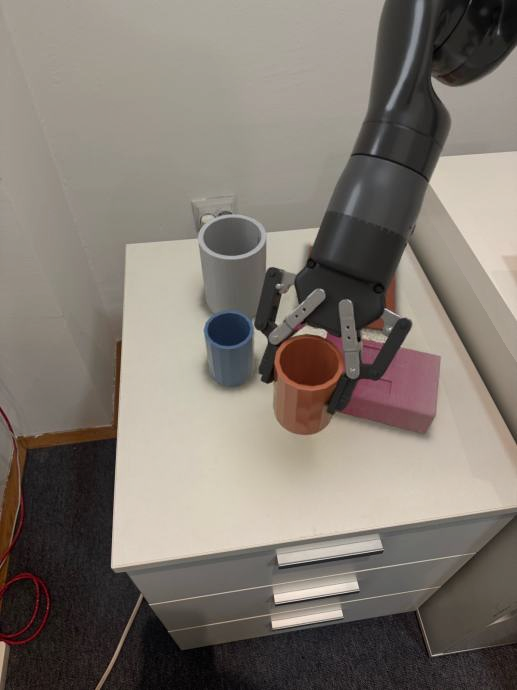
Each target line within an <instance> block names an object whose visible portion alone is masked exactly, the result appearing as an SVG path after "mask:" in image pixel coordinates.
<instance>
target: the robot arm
mask: <svg viewBox="0 0 517 690" xmlns="http://www.w3.org/2000/svg"><path fill="white" fill-rule="evenodd" d="M375 41H376V42H375V50H374V58H373V67H372V75H371V82H370V88H369V95H368V96H369V97H368V104H367V108H366V113H365V115H364V118H363V121H362V124H361V126H360V129H359V131H358V133H357V136H356V139H355V142H354V145H353V147H352V150H351V153H350V155H349V158H348V160H347V163H346V164H345V166H344V168H343V170H342V172H341V174H340V176H339V177H338V180H337V182H336V184H335V187H334V189H333V191H332V194H331V197H330V200H329V201H328V204H327V208H326V210H325V213H324V215H323V218H322V221H321V223H320V226H319V229H318V231H317V234H316V237H315V239H314V241H313V245H312V246H313V247H312V249H311V252H310V255H309V257H308V256H307V260H306V263H305V265H304V266H303V268H302V269H301V270H300V271H298V273H294V272H293V273H292V272H288V271H286V270H284V269H283V268H278V267H275V266H270V267H269V268H267V269H266V275H265V280H264V284H263V288H262V292H261V296H260V301H259V305H258V309H257V313H256V314H255V317H254V321H253V327H254V329H256V330H257V331H258V332H259V331H260V333H261V334H262V335H264V336H265V338H266V339H267V344H266V347H265V349H264V352H263V355H262V357H261V360H260V363H259V364H258V365H259V366H258V374H259V375H261V377H260V382H262V383H263V384H266V385H269V384H272V383H274V361H275V356H276V352H277V350H278V349H279V347H280V346H281V345H282V343H283V342H285V341H286V340H288V339H290V338H291V337H294V336H295V335H296V334H297V333H298V332H299V331H300V330H302V329H303V328H305V326H309V327H311V328H313V329H320V330H321V329H322V330H324V331H325V332H326V333H327V332H328V333H329V334H330V335H333V336H335V337H338V338H340V337H342V346H343V352H344V356H345V369H346V371H345V373H344V374H343V375H342V376H341V377H340V379H339V382H338V384H337V386H336V389H335V391H334V394H333V396H332V398H331V401H330V403H329V406H328V408H327V411H326V412H327V413H329V414H331V415H333V416H335V415H336V414H337V413H338V412H337V411H340V412H339V413H341V411H343V410H344V409H345V408H346V407H347V406H348V404H349V402H350V399H351V397H352V394H353V392H354V390H355V387H356V385H357V383H358V381H359V380H360V379H371V380H373V381H377V380H379V379H380V378H381V377H382V376H383V375H384V374H385V372H386V370H387V369H388V367H389V365H390V364H391V362H392V360H393V358H394V357H395V355H396V353H397V352H398V350H399V348H400V347H402V346H403V344H404V342H405V340H406V338H407V337H408V336H409V334H410V331H411V330H412V328H413V320H412V319H410V318H409V317H404V316H402V315H399V314H398V313H397V312H395V313H394V312H392V311H390V310H388V309H387V308H386V293H387V291H388V288H389V286H390V283H391V281H392V279H393V276H394V274H395V275H396V271H397V269H398V266H399V264H400V262H401V260H402V257H403V254H404V253H405V250H406V247H407V245H408V242H409V241H410V238H411V237H412V236H413V234H414V231H415V230H416V223H417V221H418V219H419V216H420V213H421V210H422V207H423V204H424V201H425V197H426V192H427V189H428V187H429V183H430V182H431V180H432V177H433V175H434V173H435V170H436V168H437V165H438V162H439V161H440V158H441V155H442V153H443V150H444V148H445V146H446V143H447V140H448V137H449V136H450V131H451V128H452V115H451V114H450V113H451V112H449V110H448V108H447V107H446V105H445V104H444V102H443V101H442V100H441V98H440V97H439V95H438V94H437V93H436V90H435V89H434V86H433V82H432V78H433V79H434V80H435V81H437V82H439V83H440V84H442V85H443V86H447V87H449V88H462V87H467V86H470V85H472V84H476V83H477V82H479V81H481V80H483V79H485V78H487V77H488V76H490V75H491V74H492V73H493V72H495V70H497V69H498V68H499V67H500V66H501V65H502V64H503V63H504V61H506V60H507V59H508V57H510V55H511V54H512V53H513V52H514V50H515V49H516V48H517V0H384V3H383V5H382V9H381V13H380V16H379V21H378V27H377V33H376V40H375ZM292 286H294V289H295V294H296V297H297V301H298V306H296V308H294V309H293V310H292V311H291V312H290V313H289V314H288V315H287V316H285V318H284V319H283V320H282V322H280V324H279V325H278V324H277V323H276V321H277V316H278V312H279V308H280V305H281V301H282V296H283V295H285V294H287V293H288V292H289V291H290V289H291V287H292ZM380 318H381V319H382V320H383V321H384V327H383V331H382V333H383V335H384V337H387V338H386V340H385V342H383V343H384V345H383V347H382V348H381V350H380V352H379V353H378V355H377V357H376V358H375V360H374V362H373V364H364V363H363V352H362V350H363V341H362V339H363V329H366V328H365V327H367V326H368V325H370V324H371V323H373V322H375V321H376V320H378V319H380Z"/></svg>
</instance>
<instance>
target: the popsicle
mask: <svg viewBox="0 0 517 690" xmlns="http://www.w3.org/2000/svg"><path fill="white" fill-rule="evenodd" d="M325 338H326V339H328V340H330V341H331V342H332V343H333V344H334V345H336V346H337V347H338V348H339V350H340V352H341V354H342V357H343V359H344V367H343V374H344V373H345V371H346V369H345V356H344V352H343V346H342V337H340V338H338V337H335V336H333V335H330V334H329V333H328V332H327V331H326V335H325ZM362 341H363V350H362V352H363V363H364V364H373V362H374V360H375V358H376V357H377V355H378V353H379V352H380V350H381V348H382V347H383V345H384V343H385V342H381V341H374V340H370V339H367V338H362ZM441 360H442V356H441V355H438V354H434V353H429V352H424V351H420V350H416V349H411V348H407V347H403V346H401V347H400V348H399V350H398V352H397V353H396V355H395V357H394V358H393V360H392V362H391V364H390V365H389V367H388V369H387V370H386V372H385V374H384V375H383V376H382V377H381V378H380V379H379V380H377V381H373V380H371V379H360V380H359V381H358V383H357V385H356V387H355V390H354V392H353V394H352V397H351V399H350V402H349V404H348V406H347V407H346V408H345V409H344V410H343V411H341V412H340V411H337V412H336V413H342V414H346V415H350V416H354V417H357V418H361V419H366V420H370V421H374V422H377V423H381V424H385V425H390V426H394V427H397V428H401V429H405V430H410V431H413V432H418V433H421V434H426V433H427V432H428V430H429V428H430V426H431V425H432V423H433V422H434V420H435V418H436V416H437V407H438V397H439V383H440V373H441V363H442V362H441ZM343 374H342V375H343Z"/></svg>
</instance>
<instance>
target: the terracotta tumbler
mask: <svg viewBox="0 0 517 690" xmlns="http://www.w3.org/2000/svg"><path fill="white" fill-rule="evenodd" d="M343 367H344V359H343V357H342V354H341V352H340V350H339V348H338V347H337V346H336V345H334V344H333V343H332V342H331V341H330V340H328V339H326V337H324V336H321V335H318V334H311V333H304V334H298V335H293V336H292V337H291V338H290V339H288V340H286V341H285V342H283V343H282V345H281V346H280V347H279V349H278V350H277V352H276V356H275V361H274V381H273V399H272V400H273V401H272V402H273V404H272V407H273V413H274V417H275V419H276V421H277V422H278V424H279V425H280V426H281V427H282V428H283V429H284V430H286V431H288V432H289V433H291V434H294V435H298V436H311V435H315V434H318V433H320V432H322V431H323V430H325V429H326V428H328V426H329V424H330V423H331V421H332V419H333V416H334V415H331V414H329V413H327V412H326V411H327V408H328V406H329V403H330V401H331V398H332V396H333V394H334V391H335V389H336V386H337V384H338V382H339V379H340V377H341V376H342V374H343Z"/></svg>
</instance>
